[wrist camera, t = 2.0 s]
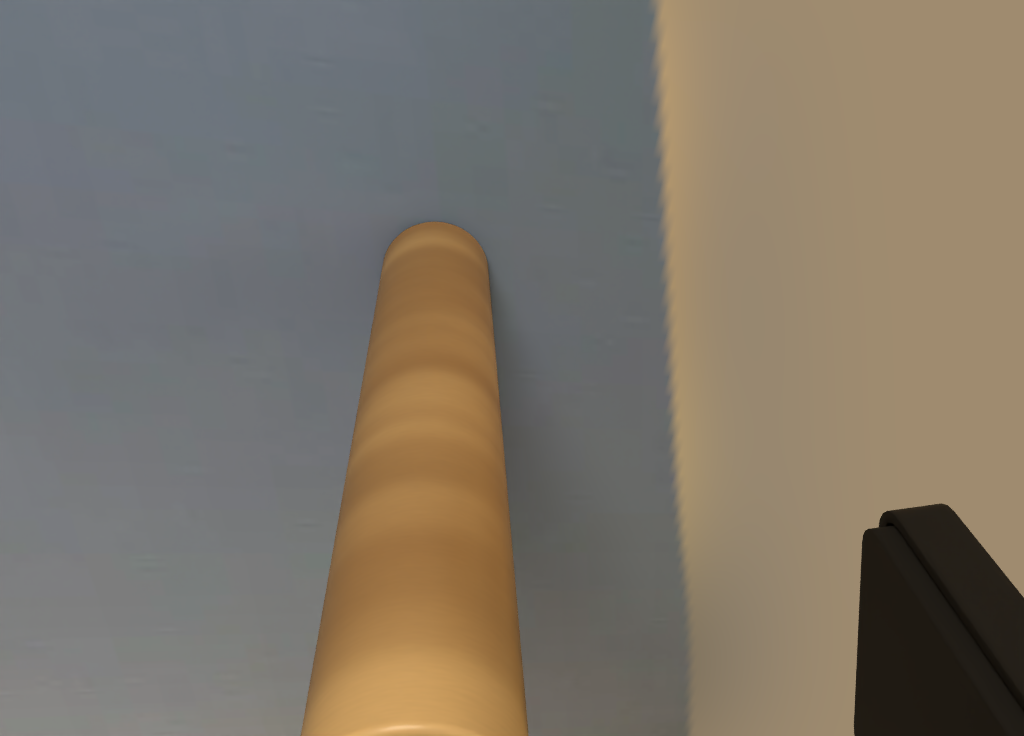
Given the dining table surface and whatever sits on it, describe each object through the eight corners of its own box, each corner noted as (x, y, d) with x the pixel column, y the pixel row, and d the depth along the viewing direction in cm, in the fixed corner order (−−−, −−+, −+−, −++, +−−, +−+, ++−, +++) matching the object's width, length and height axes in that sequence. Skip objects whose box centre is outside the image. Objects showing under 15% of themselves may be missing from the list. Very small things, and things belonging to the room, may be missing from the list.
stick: (373, 227, 18) (260, 748, 7) (480, 213, 18) (519, 713, 7) (392, 324, 19) (318, 909, 8) (494, 310, 19) (548, 879, 8)
